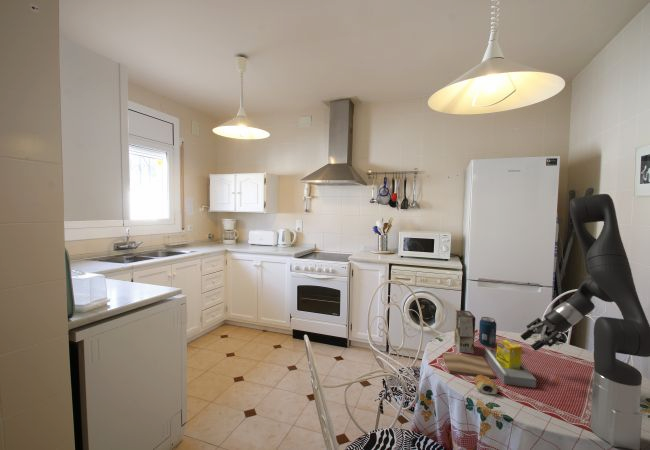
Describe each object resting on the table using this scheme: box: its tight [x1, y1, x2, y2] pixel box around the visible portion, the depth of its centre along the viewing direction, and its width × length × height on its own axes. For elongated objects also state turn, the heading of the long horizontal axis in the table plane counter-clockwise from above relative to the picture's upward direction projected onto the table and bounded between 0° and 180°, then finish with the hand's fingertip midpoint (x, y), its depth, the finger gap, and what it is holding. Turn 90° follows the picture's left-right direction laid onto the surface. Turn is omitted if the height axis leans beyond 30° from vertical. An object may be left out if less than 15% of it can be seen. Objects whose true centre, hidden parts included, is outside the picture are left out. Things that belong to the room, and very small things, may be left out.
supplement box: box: [496, 339, 523, 370], centre depth 112 cm, size 6×6×11 cm
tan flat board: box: [441, 352, 496, 379], centre depth 115 cm, size 14×16×1 cm
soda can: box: [478, 316, 497, 348], centre depth 135 cm, size 7×7×12 cm
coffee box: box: [454, 309, 476, 354], centre depth 130 cm, size 9×6×16 cm
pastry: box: [474, 374, 499, 395], centre depth 102 cm, size 9×7×4 cm
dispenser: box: [484, 346, 537, 389], centre depth 112 cm, size 20×10×4 cm, turn 169°
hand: (527, 343), depth 111 cm, fingers open, 8 cm apart
